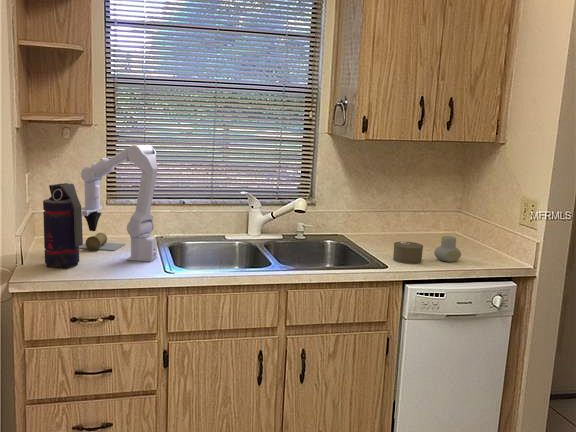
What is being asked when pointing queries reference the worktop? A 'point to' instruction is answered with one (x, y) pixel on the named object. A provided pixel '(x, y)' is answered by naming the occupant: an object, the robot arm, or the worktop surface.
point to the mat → (106, 246)
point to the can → (408, 252)
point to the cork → (96, 241)
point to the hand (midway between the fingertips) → (92, 230)
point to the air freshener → (447, 250)
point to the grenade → (62, 226)
